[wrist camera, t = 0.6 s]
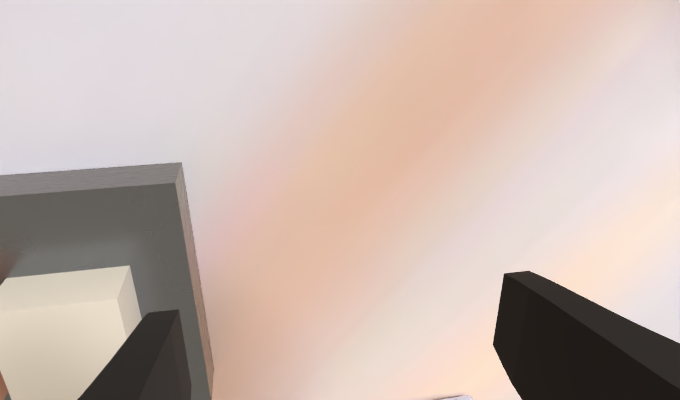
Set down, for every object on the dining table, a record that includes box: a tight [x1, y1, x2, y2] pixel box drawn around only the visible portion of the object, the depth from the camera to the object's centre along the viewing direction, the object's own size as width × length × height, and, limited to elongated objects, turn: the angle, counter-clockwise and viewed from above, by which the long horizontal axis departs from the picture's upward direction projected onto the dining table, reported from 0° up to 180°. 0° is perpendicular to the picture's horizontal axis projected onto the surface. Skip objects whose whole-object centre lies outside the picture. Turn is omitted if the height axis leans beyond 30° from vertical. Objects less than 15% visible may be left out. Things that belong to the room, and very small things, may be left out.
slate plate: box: [0, 163, 214, 400], centre depth 18 cm, size 10×12×2 cm
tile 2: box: [0, 266, 142, 400], centre depth 17 cm, size 4×4×2 cm
